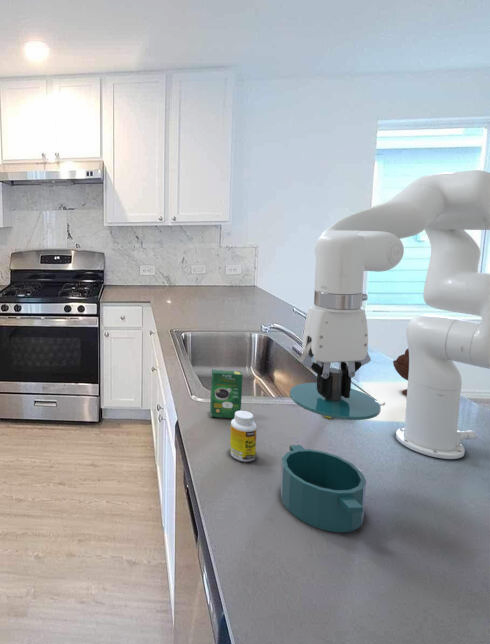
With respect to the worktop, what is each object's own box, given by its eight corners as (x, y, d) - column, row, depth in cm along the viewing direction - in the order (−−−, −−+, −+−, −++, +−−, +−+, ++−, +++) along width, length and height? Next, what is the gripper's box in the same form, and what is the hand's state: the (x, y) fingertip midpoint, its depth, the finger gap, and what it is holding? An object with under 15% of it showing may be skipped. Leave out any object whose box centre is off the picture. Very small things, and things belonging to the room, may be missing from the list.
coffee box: (239, 414, 114) (240, 370, 113) (241, 419, 112) (242, 373, 110) (210, 413, 116) (210, 368, 114) (211, 417, 113) (211, 372, 112)
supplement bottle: (245, 465, 91) (247, 422, 90) (225, 454, 96) (225, 412, 94) (260, 457, 94) (262, 415, 93) (239, 446, 99) (240, 406, 97)
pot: (324, 473, 88) (326, 440, 87) (393, 543, 69) (396, 502, 68) (262, 475, 87) (263, 443, 86) (314, 546, 68) (316, 505, 68)
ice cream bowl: (383, 386, 131) (386, 341, 129) (421, 388, 129) (425, 342, 128) (404, 401, 120) (408, 352, 119) (446, 403, 119) (450, 353, 117)
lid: (345, 386, 85) (346, 355, 84) (401, 421, 70) (403, 384, 70) (275, 389, 85) (276, 358, 84) (317, 425, 70) (319, 388, 69)
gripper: (366, 295, 79) (361, 385, 81) (283, 298, 79) (280, 389, 81) (396, 303, 72) (390, 402, 74) (305, 306, 71) (301, 406, 73)
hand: (333, 394), depth 77 cm, fingers closed on lid, 2 cm apart
